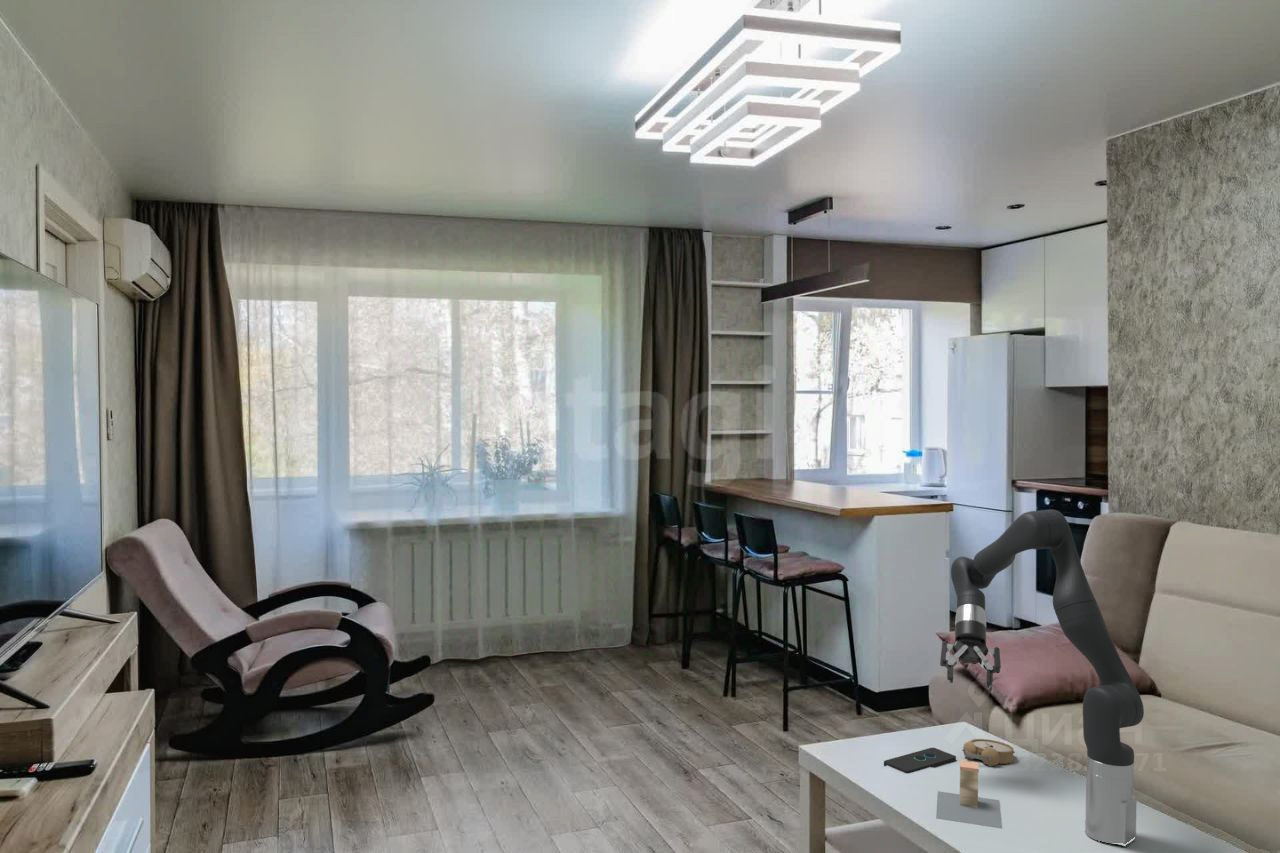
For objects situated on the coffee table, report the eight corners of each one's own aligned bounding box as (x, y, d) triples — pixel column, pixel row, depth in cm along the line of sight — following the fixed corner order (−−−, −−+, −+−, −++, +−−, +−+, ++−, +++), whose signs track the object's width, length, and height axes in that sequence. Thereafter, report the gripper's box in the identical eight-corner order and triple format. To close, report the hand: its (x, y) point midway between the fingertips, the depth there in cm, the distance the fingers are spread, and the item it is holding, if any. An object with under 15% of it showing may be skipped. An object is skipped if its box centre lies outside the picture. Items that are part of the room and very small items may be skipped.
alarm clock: (1022, 748, 247) (993, 750, 238) (1020, 767, 247) (990, 769, 238) (984, 736, 256) (954, 738, 247) (982, 754, 256) (952, 756, 246)
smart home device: (957, 756, 245) (907, 771, 234) (957, 762, 245) (907, 777, 234) (932, 746, 252) (882, 760, 241) (932, 752, 252) (882, 766, 241)
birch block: (977, 800, 218) (978, 762, 218) (977, 807, 214) (978, 769, 214) (959, 798, 220) (960, 760, 219) (959, 805, 216) (960, 766, 216)
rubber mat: (999, 802, 219) (999, 800, 219) (1002, 830, 204) (1002, 828, 204) (937, 793, 223) (937, 791, 223) (936, 820, 208) (936, 818, 208)
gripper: (942, 615, 237) (940, 672, 227) (1001, 622, 232) (1001, 680, 222) (941, 630, 242) (938, 687, 232) (998, 636, 238) (999, 694, 228)
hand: (969, 683), depth 227 cm, fingers open, 8 cm apart
